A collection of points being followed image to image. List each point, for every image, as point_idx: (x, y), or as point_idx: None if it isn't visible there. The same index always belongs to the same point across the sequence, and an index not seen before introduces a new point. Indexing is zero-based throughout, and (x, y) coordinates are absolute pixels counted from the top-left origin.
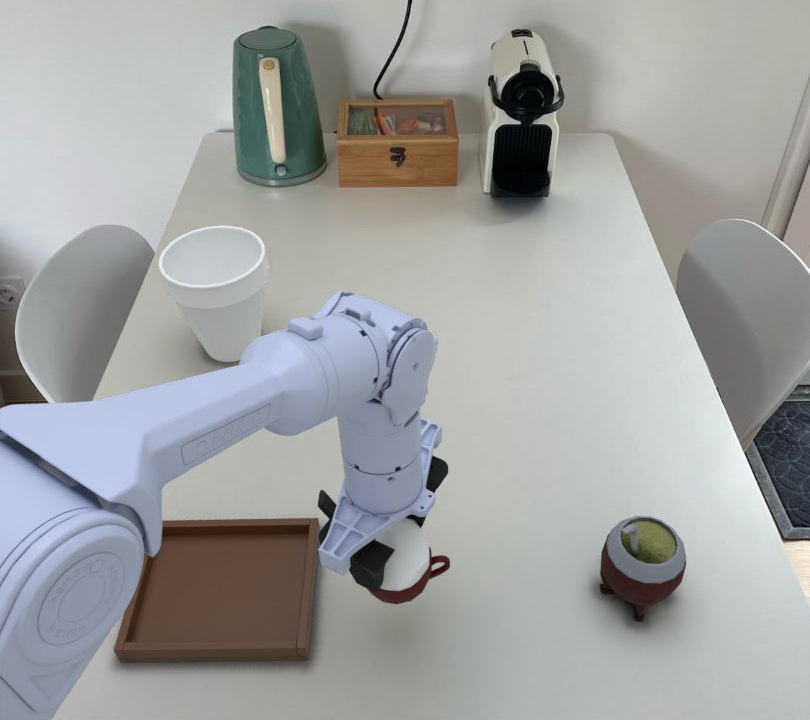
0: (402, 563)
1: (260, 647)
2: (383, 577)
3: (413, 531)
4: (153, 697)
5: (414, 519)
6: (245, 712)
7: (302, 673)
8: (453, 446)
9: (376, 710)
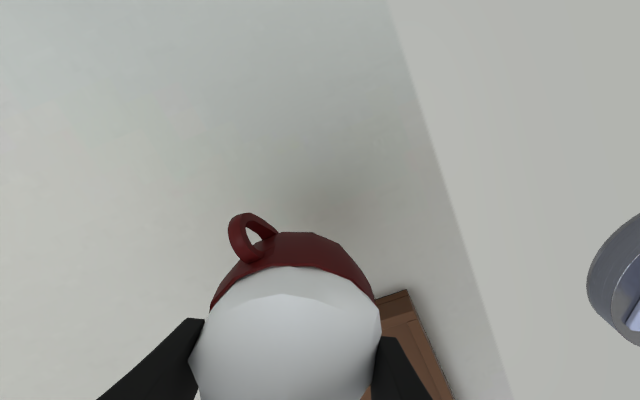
0: (331, 349)
1: (430, 351)
2: (393, 373)
3: (226, 364)
4: (493, 392)
5: (187, 362)
6: (486, 317)
7: (424, 287)
8: (14, 257)
9: (443, 191)
